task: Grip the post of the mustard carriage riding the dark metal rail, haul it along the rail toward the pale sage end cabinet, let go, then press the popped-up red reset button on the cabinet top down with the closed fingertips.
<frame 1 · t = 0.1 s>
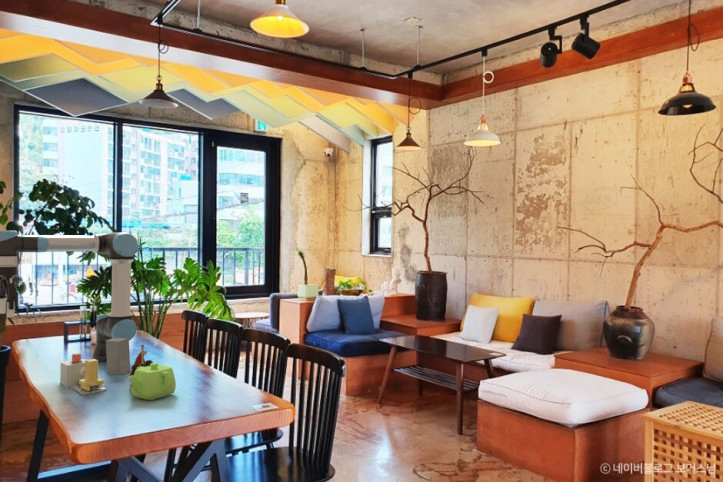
hand: (6, 315, 237), 28 cm above the table, fingers open, 13 cm apart
carriage: (91, 374, 224), point 7 cm above the table, slide at 0.0 cm
rail base: (87, 389, 226), on the table
skincare box: (117, 373, 253), on the table
reset button: (76, 360, 235), point 10 cm above the table, slide at 0.0 cm
teapot: (149, 398, 216), on the table
cabinet: (76, 383, 235), on the table
red brown figurine: (141, 388, 230), on the table
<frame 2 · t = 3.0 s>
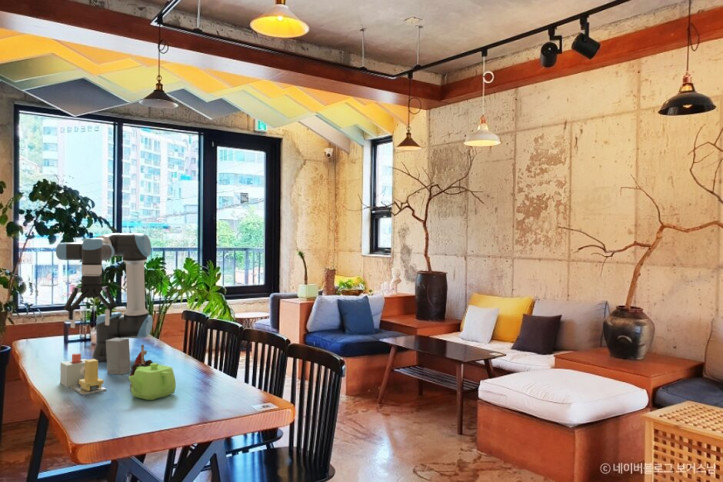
hand: (90, 326, 229), 25 cm above the table, fingers open, 13 cm apart
nothing on the table moved.
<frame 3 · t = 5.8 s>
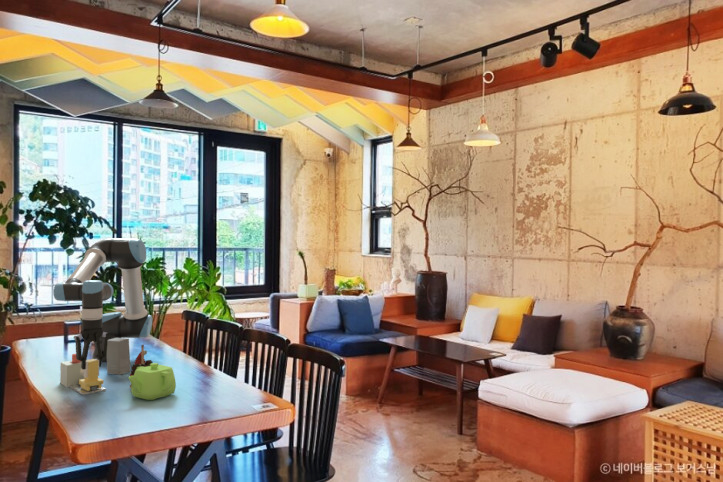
hand: (91, 376, 224), 6 cm above the table, fingers closed on carriage, 3 cm apart
carriage: (91, 374, 224), point 7 cm above the table, slide at 0.0 cm, touching gripper
everything else where it was.
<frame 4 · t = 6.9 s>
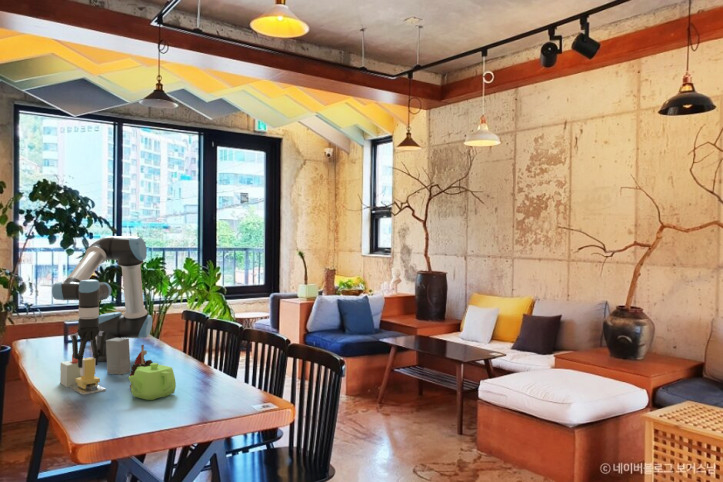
hand: (87, 374, 226), 6 cm above the table, fingers closed on carriage, 3 cm apart
carriage: (87, 372, 226), point 7 cm above the table, slide at 3.8 cm, touching gripper
everything else where it was.
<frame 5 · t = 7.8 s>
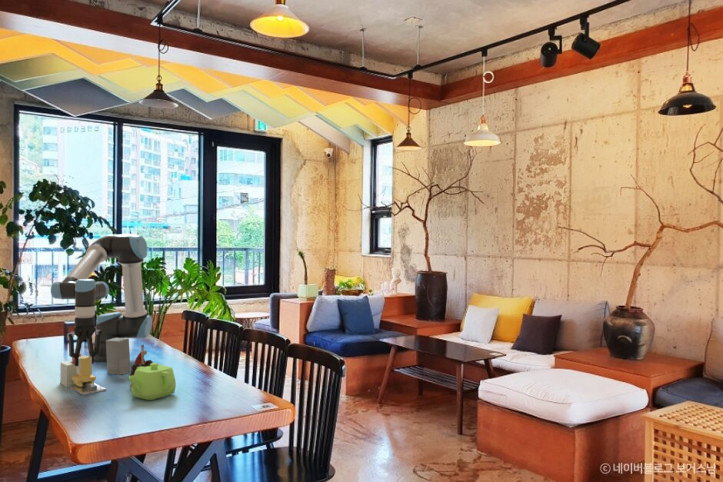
hand: (84, 372, 229), 6 cm above the table, fingers closed on carriage, 3 cm apart
carriage: (84, 370, 229), point 7 cm above the table, slide at 7.8 cm, touching gripper
everything else where it was.
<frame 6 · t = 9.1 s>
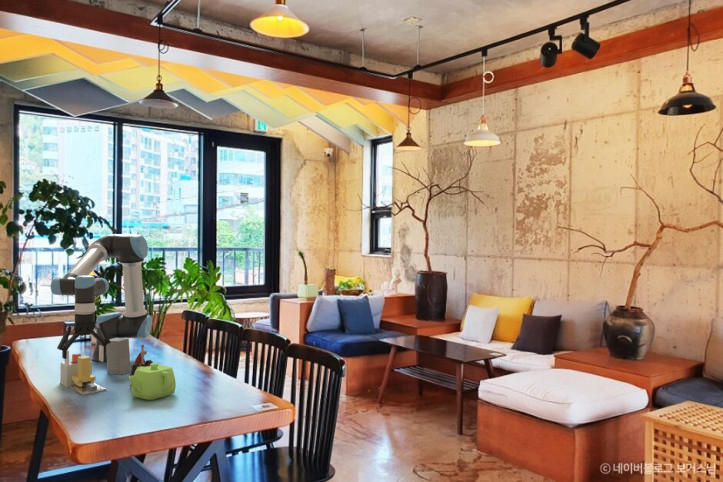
hand: (84, 363, 229), 10 cm above the table, fingers open, 13 cm apart
carriage: (83, 370, 229), point 7 cm above the table, slide at 7.9 cm
everything else where it was.
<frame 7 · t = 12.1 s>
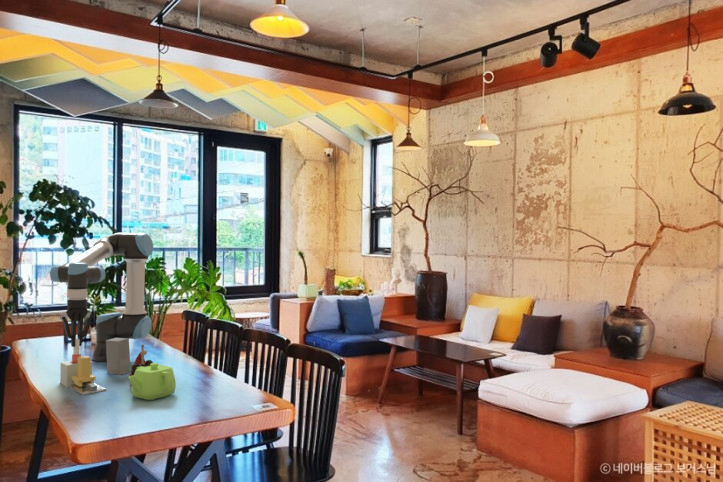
hand: (76, 354, 235), 12 cm above the table, fingers closed
reset button: (76, 360, 235), point 10 cm above the table, slide at 0.1 cm, touching gripper
everything else where it was.
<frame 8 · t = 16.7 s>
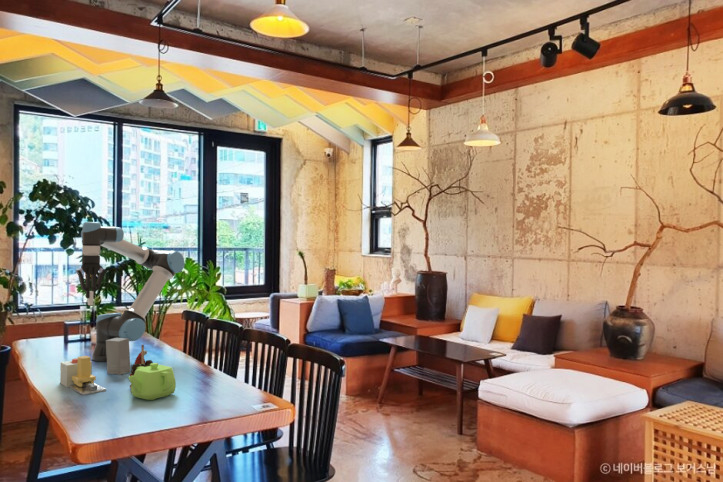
hand: (90, 305, 258), 30 cm above the table, fingers closed
reset button: (76, 365, 235), point 8 cm above the table, slide at 2.1 cm
everything else where it was.
at the end: carriage slide at 7.9 cm; reset button slide at 2.1 cm; the gripper is holding nothing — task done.
